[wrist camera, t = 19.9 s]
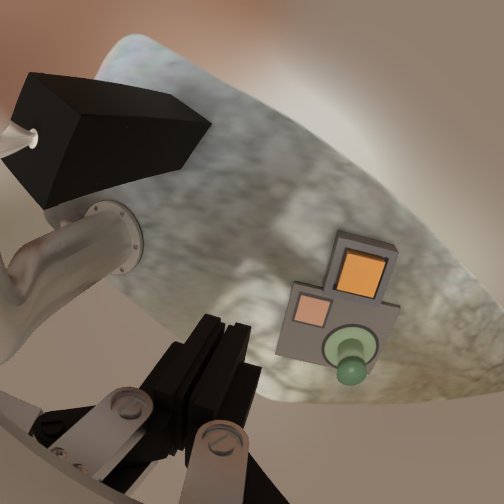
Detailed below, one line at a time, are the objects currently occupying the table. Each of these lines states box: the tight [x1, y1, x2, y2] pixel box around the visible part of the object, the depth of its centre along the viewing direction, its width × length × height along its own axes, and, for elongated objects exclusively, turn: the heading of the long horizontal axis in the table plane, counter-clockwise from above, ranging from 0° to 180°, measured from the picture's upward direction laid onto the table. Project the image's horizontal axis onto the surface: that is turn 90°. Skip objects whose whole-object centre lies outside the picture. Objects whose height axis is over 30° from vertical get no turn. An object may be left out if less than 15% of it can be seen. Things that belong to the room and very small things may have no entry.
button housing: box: [323, 231, 399, 307], centre depth 39 cm, size 8×8×3 cm
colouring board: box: [275, 281, 401, 374], centre depth 44 cm, size 16×13×1 cm
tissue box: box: [0, 72, 212, 210], centre depth 27 cm, size 8×8×28 cm
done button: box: [336, 247, 385, 298], centre depth 38 cm, size 5×5×2 cm
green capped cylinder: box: [337, 338, 367, 385], centre depth 41 cm, size 4×4×6 cm
